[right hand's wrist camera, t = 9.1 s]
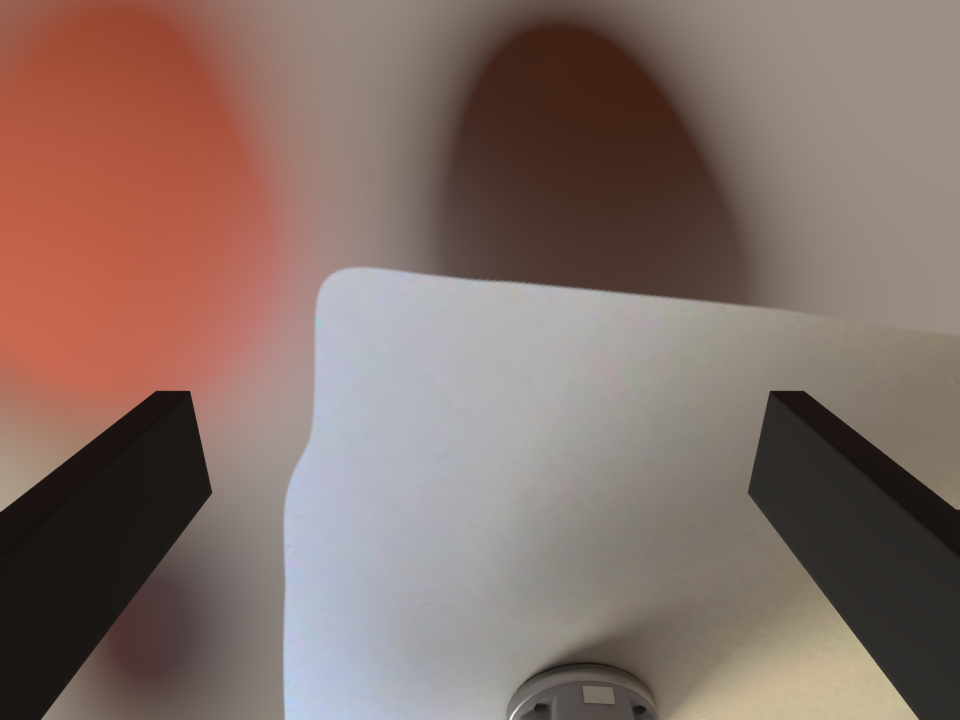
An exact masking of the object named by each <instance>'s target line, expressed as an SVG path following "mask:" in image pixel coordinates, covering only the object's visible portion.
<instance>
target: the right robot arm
mask: <svg viewBox="0 0 960 720" xmlns="http://www.w3.org/2000/svg"><path fill="white" fill-rule="evenodd" d="M211 494H212V490H211V485H210V481H209V476H208V471H207V467H206V462H205V458H204V453H203V448H202V444H201V439H200V435H199V430H198V425H197V421H196V417H195V412H194V407H193V402H192V398H191V393H190V391H155V392H154V393H153V394H152V395H150V396H149V397H148V398H146V399H145V400H144V401H143V402H141V403H140V404H139V405H138V406H136V407H135V408H134V409H132V410H131V411H130V412H129V413H127V414H126V415H125V416H123V417H122V418H121V419H120V420H118V421H117V422H116V423H114V424H113V425H112V426H111V427H109V428H108V429H107V430H105V431H104V432H103V433H102V434H100V435H99V436H98V437H96V438H95V439H94V440H93V441H91V442H90V443H89V444H87V445H86V446H85V447H84V448H82V449H81V450H80V451H78V452H77V453H76V454H75V455H73V456H72V457H71V458H69V459H68V460H67V461H66V462H64V463H63V464H62V465H61V466H59V467H58V468H57V469H55V470H54V471H53V472H52V473H50V474H49V475H48V476H46V477H45V478H44V479H43V480H41V481H40V482H39V483H37V484H36V485H35V486H34V487H32V488H31V489H30V490H29V491H27V492H26V493H25V494H23V495H22V496H21V497H19V498H18V499H17V500H16V501H14V502H13V503H12V504H10V505H9V506H8V507H7V508H5V509H4V510H3V511H2V512H0V720H41V719H42V718H43V716H44V715H45V714H46V712H47V711H48V710H49V708H50V707H51V706H52V704H53V703H54V702H55V700H56V699H57V698H58V696H59V695H60V694H61V692H62V691H63V690H64V688H65V687H66V686H67V684H68V683H69V682H70V680H71V679H72V678H73V676H74V675H75V674H76V673H77V671H78V670H79V668H80V667H81V666H82V665H83V663H84V662H85V661H86V659H87V658H88V657H89V655H90V654H91V653H92V651H93V650H94V649H95V647H96V646H97V645H98V643H99V642H100V641H101V639H102V638H103V637H104V635H105V634H106V633H107V631H108V630H109V629H110V627H111V626H112V625H113V624H114V622H115V621H116V620H117V618H118V617H119V616H120V614H121V613H122V612H123V610H124V609H125V608H126V606H127V605H128V604H129V602H130V601H131V600H132V598H133V597H134V596H135V594H136V593H137V592H138V590H139V589H140V588H141V586H142V585H143V584H144V582H145V581H146V580H147V579H148V577H149V576H150V574H151V573H152V572H153V571H154V569H155V568H156V567H157V565H158V564H159V563H160V561H161V560H162V559H163V557H164V556H165V555H166V553H167V552H168V551H169V549H170V548H171V547H172V545H173V544H174V543H175V541H176V540H177V539H178V537H179V536H180V535H181V534H182V532H183V531H184V529H185V528H186V527H187V525H188V524H189V523H190V522H191V520H192V519H193V518H194V516H195V515H196V514H197V512H198V511H199V510H200V508H201V507H202V506H203V504H204V503H205V502H206V500H207V499H208V498H209V496H210V495H211ZM748 494H749V495H750V496H751V498H752V499H753V500H754V502H755V503H756V504H757V506H758V507H759V508H760V510H761V511H762V512H763V514H764V515H765V516H766V518H767V519H768V520H769V522H770V523H771V524H772V526H773V527H774V528H775V530H776V531H777V532H778V534H779V535H780V536H781V538H782V539H783V540H784V541H785V543H786V544H787V545H788V547H789V548H790V549H791V551H792V552H793V553H794V555H795V556H796V557H797V559H798V560H799V561H800V563H801V564H802V565H803V567H804V568H805V569H806V571H807V572H808V573H809V575H810V576H811V577H812V579H813V580H814V581H815V583H816V584H817V585H818V586H819V588H820V589H821V590H822V592H823V593H824V594H825V596H826V597H827V598H828V600H829V601H830V602H831V604H832V605H833V606H834V608H835V609H836V610H837V612H838V613H839V614H840V616H841V617H842V618H843V620H844V621H845V622H846V624H847V625H848V626H849V628H850V629H851V630H852V631H853V633H854V634H855V635H856V637H857V638H858V639H859V641H860V642H861V643H862V645H863V646H864V647H865V649H866V650H867V651H868V653H869V654H870V655H871V657H872V658H873V659H874V661H875V662H876V663H877V665H878V666H879V667H880V669H881V670H882V671H883V673H884V674H885V675H886V676H887V678H888V679H889V680H890V682H891V683H892V684H893V686H894V687H895V688H896V690H897V691H898V692H899V694H900V695H901V696H902V698H903V699H904V700H905V702H906V703H907V704H908V706H909V707H910V708H911V710H912V711H913V712H914V714H915V715H916V716H917V718H918V719H919V720H960V510H956V509H955V508H953V507H952V506H951V505H950V504H948V503H947V502H946V501H944V500H943V499H942V498H941V497H939V496H938V495H937V494H935V493H934V492H933V491H932V490H930V489H929V488H928V487H926V486H925V485H924V484H923V483H921V482H920V481H919V480H917V479H916V478H915V477H914V476H912V475H911V474H910V473H908V472H907V471H906V470H905V469H903V468H902V467H901V466H899V465H898V464H897V463H896V462H894V461H893V460H892V459H891V458H889V457H888V456H887V455H885V454H884V453H883V452H882V451H880V450H879V449H878V448H876V447H875V446H874V445H873V444H871V443H870V442H869V441H867V440H866V439H865V438H864V437H862V436H861V435H860V434H858V433H857V432H856V431H855V430H853V429H852V428H851V427H849V426H848V425H847V424H846V423H844V422H843V421H842V420H840V419H839V418H838V417H837V416H835V415H834V414H833V413H832V412H830V411H829V410H828V409H826V408H825V407H824V406H823V405H821V404H820V403H819V402H817V401H816V400H815V399H814V398H812V397H811V396H810V395H808V394H807V393H806V392H805V391H770V393H769V398H768V402H767V407H766V412H765V416H764V421H763V425H762V430H761V435H760V439H759V444H758V448H757V453H756V458H755V462H754V467H753V471H752V476H751V481H750V485H749V490H748ZM506 720H659V717H658V714H657V711H656V707H655V704H654V701H653V698H652V696H651V694H650V692H649V691H648V689H647V688H646V687H645V686H644V685H643V684H642V683H641V682H640V681H639V680H638V679H636V678H635V677H633V676H632V675H630V674H628V673H626V672H624V671H621V670H619V669H616V668H613V667H609V666H604V665H597V664H575V665H567V666H562V667H558V668H555V669H551V670H549V671H546V672H544V673H541V674H539V675H537V676H536V677H534V678H532V679H531V680H529V681H528V682H526V683H525V684H524V685H523V686H522V687H521V688H520V689H519V690H518V691H517V692H516V693H515V695H514V696H513V698H512V699H511V701H510V703H509V706H508V709H507V714H506Z"/></svg>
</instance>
